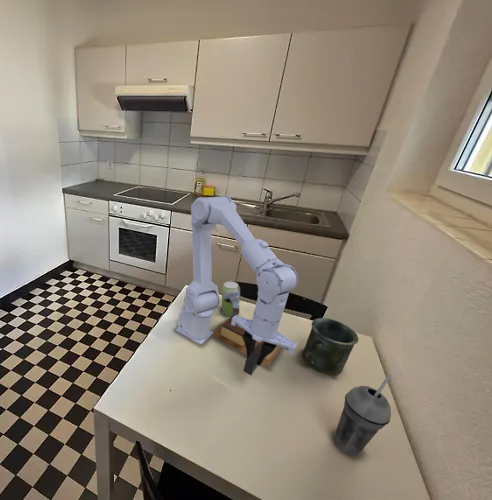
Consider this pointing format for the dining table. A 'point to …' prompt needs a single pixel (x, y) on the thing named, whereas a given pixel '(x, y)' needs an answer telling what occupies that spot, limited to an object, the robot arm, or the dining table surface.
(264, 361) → the cake board
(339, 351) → the mug
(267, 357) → the cake slice
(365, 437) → the beverage cup
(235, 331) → the cake
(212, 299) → the robot arm
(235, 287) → the beverage can
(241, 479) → the dining table surface
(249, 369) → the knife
